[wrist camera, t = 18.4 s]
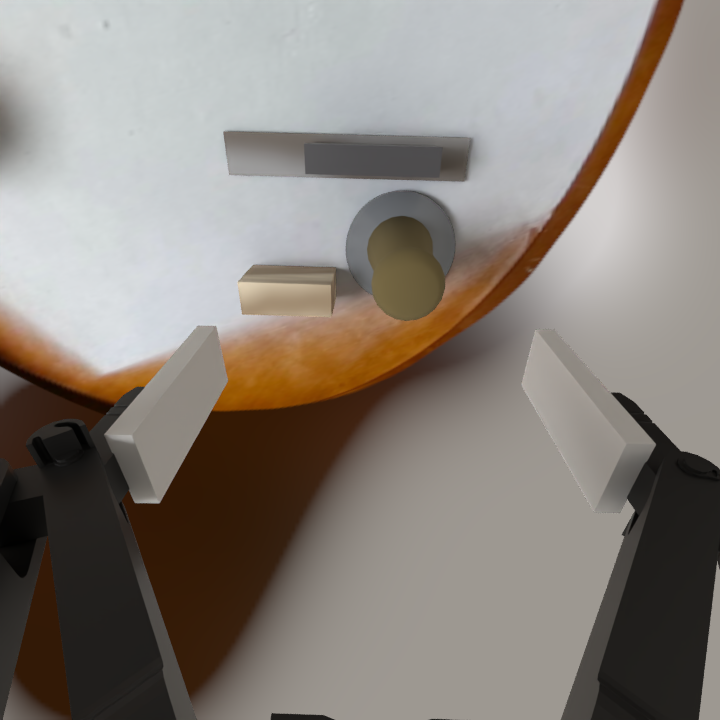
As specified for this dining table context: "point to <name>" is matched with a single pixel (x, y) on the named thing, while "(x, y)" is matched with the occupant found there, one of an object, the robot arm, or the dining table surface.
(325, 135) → the assorted toy blocks
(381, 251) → the olive pepper mill
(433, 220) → the coaster
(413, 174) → the bar
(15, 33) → the dining table surface
